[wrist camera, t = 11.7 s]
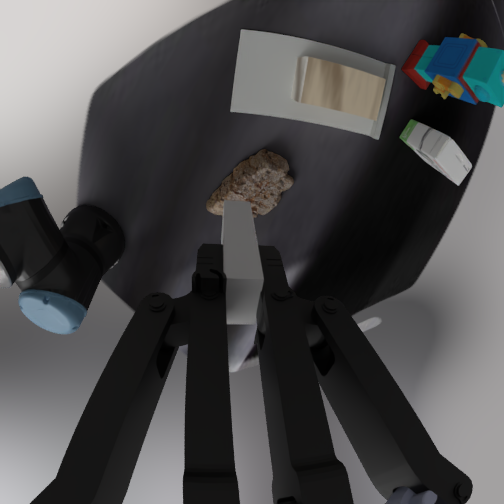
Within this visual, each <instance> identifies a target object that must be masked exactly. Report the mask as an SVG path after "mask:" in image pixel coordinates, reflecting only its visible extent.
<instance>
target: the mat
mask: <svg viewBox="0 0 504 504" xmlns="http://www.w3.org/2000/svg"><path fill="white" fill-rule="evenodd" d="M305 56H308V57H312V58H317V59H321V60H325V61H329V62H333V63H337V64H340V65H344V66H347V67H351V68H354V69H357V70H360V71H363V72H367V73H370V74H372V75H375V76H378V77H381V78H384V79H386V81H385V85H384V90H383V95H382V99H381V104H380V108H379V112H378V116H377V121H375V120H371V119H368V118H364V117H361V116H357V115H353V114H349V113H345V112H341V111H337V110H333V109H328V108H324V107H319V106H314V105H309V104H304V103H299V102H297V101H295V100H293V99H291V93H292V87H293V81H294V75H295V69H296V63H297V58H299V57H305ZM395 67H396V66H395V65H392V64H387V63H384V62H381V61H378V60H376V59H373V58H370V57H367V56H364V55H361V54H358V53H355V52H352V51H349V50H345V49H342V48H338V47H335V46H331V45H327V44H324V43H320V42H315V41H311V40H307V39H302V38H297V37H292V36H287V35H281V34H275V33H268V32H261V31H253V30H244V29H241V34H240V41H239V48H238V55H237V62H236V70H235V78H234V85H233V93H232V102H231V110H230V112H240V113H250V114H259V115H267V116H274V117H281V118H288V119H294V120H300V121H305V122H311V123H316V124H321V125H326V126H331V127H335V128H340V129H344V130H348V131H353V132H357V133H361V134H365V135H368V136H371V137H372V138H374V139H378V140H379V137H380V133H381V129H382V125H383V121H384V117H385V113H386V109H387V104H388V100H389V96H390V91H391V86H392V82H393V77H394V72H395Z"/></svg>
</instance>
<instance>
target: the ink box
mask: <svg viewBox="0 0 504 504" xmlns="http://www.w3.org/2000/svg"><path fill="white" fill-rule="evenodd" d="M400 138H401V139H402V140H403V141H404V142H405V143H406V144H407V145H408V146H409V147H411V148H412V149H413V150H414V151H415V152H416V153H417V154H418V155H419V156H420V157H421V158H422V159H423V160H424V161H425V162H427V163H428V164H429V165H431V166H432V167H434V168H435V169H436V170H438V171H439V172H441V173H442V174H443V175H445V176H446V177H447V178H449V179H450V180H451V181H453V182H454V183H455V184H457V185H458V186H459V185H460V183H461V182H462V181H463V179H464V178H465V176H466V175H467V174H468V172H469V171H470V169H471V168H472V164H471V163H470V161H469V160H468V159H467V157H466V156H465V155H464V153H463V152H462V151H461V149H460V148H459V147H458V145H457V144H456V143H455V142H454V140H453V139H451V138H450V137H449V136H447V135H446V134H444V133H442V132H439V131H437V130H435V129H433V128H431V127H429V126H427V125H424V124H422V123H420V122H417V121H415V120H413V119H411V120H410V121H409V123H408V124H407V126H406V128H405V129H404V131H403V132H402V134H401V135H400Z"/></svg>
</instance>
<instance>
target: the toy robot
mask: <svg viewBox="0 0 504 504" xmlns="http://www.w3.org/2000/svg"><path fill="white" fill-rule="evenodd" d="M401 70H402V71H403V72H404V73H406V74H407V75H408V76H409V77H410V78H411V79H412V80H413V81H414V82H415V83H416V84H417V85H418V86H419V87H420V88H421V89H425V90H426V89H427V87H428V86H429V84H430V82H432V83H433V84H434V85H435V87H434V89H433V91H434V92H435V93H436V94H438V93H440V94H441V95H442V97H443V99H446V98H447V96H451V97H455V98H458V99H461V100H464V101H467V102H469V103H472V104H475V105H476V104H477V103H478V101H479V100H480V101H483V102H489V103H491V104H494V105H496V106H499V107H502V106H503V105H504V50H499V49H493V48H487V45H486V43H485V42H484V41H482V40H480V39H473V38H471V37H468V36H467V35H466V34H463V33H461V34H460V36H459V38H452V37H445V38H444V40H443V42H442V43H441V45H440V46H438V45H429V44H428V43H427V42H426V41H425V40H420V41H419V42H418V44H417V45H416V47H415V48H414V50H413V52H412V53H411V55H410V56H409V58H408V59H407V61H406V62H405V64H404V65H403V67H402V69H401Z"/></svg>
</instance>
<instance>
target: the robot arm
mask: <svg viewBox="0 0 504 504" xmlns="http://www.w3.org/2000/svg"><path fill="white" fill-rule="evenodd" d="M124 246H125V240H124V235H123V232H122V230H121V228H120V226H119V225H118V223H117V222H116V220H115V219H114V218H113V217H112V216H111V215H109V214H108V213H107V212H105V211H104V210H102V209H100V208H97V207H94V206H88V205H84V206H79V207H76V208H74V209H73V210H71V211H70V212H69V213H68V215H67V216H66V217H65V218H64V220H63V222H62V224H61V227H60V230H59V228H58V226H57V224H56V222H55V221H54V219H53V217H52V215H51V214H50V211H49V209H48V207H47V205H46V204H45V201H44V199H43V195H41V194H40V192H39V191H38V189H37V187H36V185H35V183H34V182H33V180H32V179H31V178H29V177H22V178H20V179H18V180H16V181H14V182H12V183H11V184H9V185H7V186H5V187H4V188H2V189H0V288H10V287H11V286H12V285H13V283H14V282H16V284H17V285H18V286H19V288H20V289H21V291H22V292H21V293H20V295H19V305H20V309H21V310H22V312H23V313H24V315H25V316H26V317H27V318H28V319H30V320H31V321H32V322H33V323H35V324H36V325H38V326H39V327H41V328H43V329H45V330H48V331H51V332H54V333H58V334H69V333H73V332H74V331H76V330H77V329H78V328H79V327H80V324H81V322H82V321H83V319H84V317H85V316H86V314H87V310H88V308H89V305H90V303H91V301H92V298H93V296H94V293H95V291H96V289H97V287H98V284H99V282H100V280H101V278H102V276H103V275H104V274H105V273H106V272H107V271H108V270H109V269H111V268H112V267H114V266H115V265H116V264H117V263H118V261H119V260H120V258H121V255H122V253H123V251H124ZM256 318H257V330H256V335H255V340H254V344H256V343H257V347H258V355H259V364H260V371H261V381H262V389H263V397H264V405H265V414H266V421H267V430H268V438H269V447H270V454H271V462H272V470H273V481H272V494H273V502H274V504H354V503H353V498H352V493H351V489H350V484H349V479H348V474H347V471H346V468H345V466H344V465H343V463H342V462H340V461H339V460H338V459H337V458H336V456H335V453H334V448H333V443H332V439H331V434H330V430H329V425H328V421H327V417H326V412H325V408H324V404H323V400H322V395H321V391H320V387H319V384H320V386H321V387H322V390H323V391H324V393H325V395H326V397H327V399H328V401H329V403H330V405H331V407H332V409H333V410H334V412H335V414H336V416H337V418H338V420H339V422H340V424H341V425H342V427H343V429H344V431H345V433H346V435H347V437H348V438H349V441H350V442H351V444H352V446H353V448H354V450H355V452H356V454H357V456H358V458H359V459H360V461H361V463H362V465H363V467H364V469H365V471H366V473H367V474H368V476H369V478H370V480H371V481H372V483H373V485H374V486H375V488H376V489H377V490H378V491H379V493H380V494H381V495H382V496H383V497H384V498H385V499H387V500H388V501H387V502H386V503H385V504H465V503H466V502H467V501H468V500H469V498H470V496H471V494H472V488H473V485H472V481H471V480H470V478H469V477H468V476H467V475H466V474H464V473H463V472H462V471H460V470H459V469H458V468H457V467H456V466H454V465H453V464H452V463H451V462H449V461H448V460H447V459H446V458H444V457H443V456H442V455H441V454H440V453H439V452H438V450H437V448H436V446H435V445H434V443H433V441H432V440H431V438H430V436H429V435H428V433H427V431H426V430H425V428H424V426H423V425H422V423H421V421H420V420H419V418H418V416H417V415H416V413H415V412H414V410H413V408H412V407H411V405H410V404H409V402H408V401H407V399H406V398H405V396H404V394H403V393H402V391H401V389H400V388H399V386H398V385H397V383H396V382H395V380H394V379H393V377H392V376H391V374H390V373H389V371H388V369H387V368H386V366H385V365H384V363H383V362H382V360H381V359H380V357H379V356H378V354H377V353H376V351H375V350H374V348H373V347H372V346H371V344H370V343H369V341H368V340H367V338H366V337H365V335H364V334H363V332H362V331H361V329H360V328H359V327H358V325H357V324H356V322H355V321H354V320H353V318H352V317H351V315H350V314H349V312H348V311H347V309H346V308H345V307H344V305H343V304H342V303H341V302H340V301H339V300H338V299H336V298H334V297H331V296H321V297H319V298H317V300H316V301H315V302H312V301H308V300H304V299H301V298H299V297H297V296H296V294H295V292H294V291H293V290H292V289H291V288H290V287H289V286H288V282H287V278H286V275H285V271H284V267H283V263H282V261H281V256H280V252H279V251H278V250H277V249H276V248H275V247H274V246H260V245H258V243H257V237H256V232H255V226H254V220H253V215H252V209H251V204H250V202H245V201H228V200H224V207H223V221H222V236H221V244H202V246H201V247H200V248H199V249H198V255H197V264H196V271H195V272H194V273H193V275H192V291H191V292H190V293H189V294H187V295H185V296H183V297H179V298H175V299H172V298H171V297H170V296H169V295H167V294H165V293H158V292H157V293H152V294H149V295H147V296H146V297H145V298H144V299H143V300H142V301H141V303H140V305H139V306H138V308H137V310H136V312H135V313H134V315H133V317H132V319H131V320H130V322H129V324H128V326H127V328H126V329H125V331H124V333H123V335H122V337H121V338H120V340H119V342H118V344H117V346H116V348H115V350H114V352H113V353H112V355H111V357H110V359H109V361H108V363H107V365H106V367H105V369H104V371H103V373H102V374H101V376H100V379H99V381H98V383H97V384H96V386H95V389H94V391H93V393H92V395H91V397H90V399H89V401H88V403H87V405H86V407H85V410H84V412H83V414H82V416H81V418H80V420H79V423H78V425H77V427H76V429H75V432H74V434H73V436H72V439H71V441H70V443H69V446H68V448H67V450H66V453H65V456H64V458H63V461H62V463H61V466H60V468H59V471H58V473H57V476H56V478H55V479H54V480H53V481H52V482H51V483H50V484H49V485H48V486H47V487H46V488H45V489H44V490H43V491H42V492H41V493H40V494H39V495H38V496H37V497H36V498H35V499H34V500H33V501H32V502H31V503H30V504H122V502H123V500H124V497H125V495H126V492H127V490H128V486H129V483H130V480H131V477H132V474H133V471H134V468H135V465H136V462H137V459H138V457H139V454H140V451H141V448H142V445H143V442H144V439H145V436H146V434H147V431H148V428H149V425H150V422H151V420H152V417H153V414H154V411H155V409H156V406H157V403H158V400H159V398H160V395H161V392H162V390H163V387H164V385H165V382H166V379H167V377H168V374H169V371H170V369H171V366H172V364H173V361H174V358H175V356H176V353H177V351H178V348H179V346H183V345H187V344H188V356H187V374H186V376H187V377H186V398H185V400H186V401H185V469H184V475H183V504H240V500H239V490H238V481H237V476H236V471H235V461H234V448H233V434H232V419H231V403H230V387H229V386H230V385H229V365H228V343H227V324H255V322H256ZM318 382H319V383H318Z"/></svg>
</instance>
